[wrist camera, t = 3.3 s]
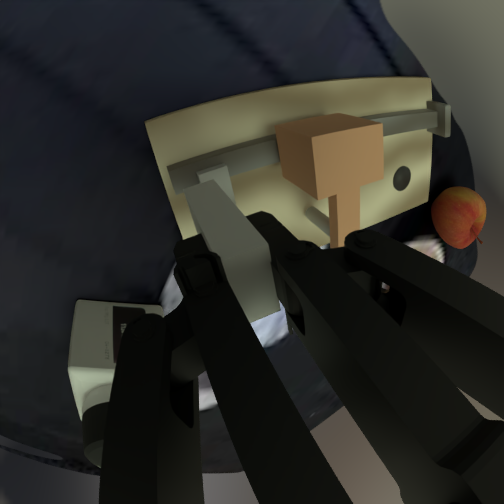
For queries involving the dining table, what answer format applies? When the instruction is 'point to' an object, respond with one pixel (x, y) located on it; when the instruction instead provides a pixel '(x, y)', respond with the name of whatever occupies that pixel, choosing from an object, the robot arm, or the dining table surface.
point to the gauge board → (267, 154)
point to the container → (97, 363)
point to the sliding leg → (332, 166)
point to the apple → (458, 216)
